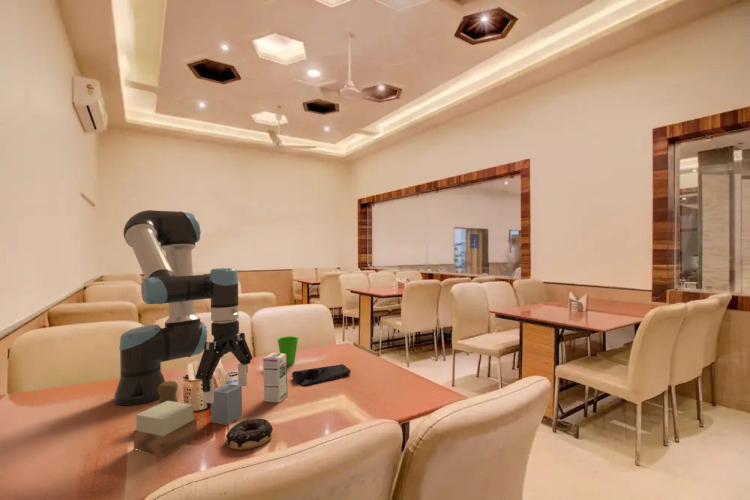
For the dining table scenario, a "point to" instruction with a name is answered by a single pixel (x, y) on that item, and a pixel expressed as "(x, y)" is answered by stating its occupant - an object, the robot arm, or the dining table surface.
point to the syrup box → (275, 377)
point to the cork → (167, 391)
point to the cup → (288, 348)
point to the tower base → (165, 439)
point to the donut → (249, 434)
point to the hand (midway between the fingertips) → (226, 393)
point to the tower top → (164, 418)
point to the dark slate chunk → (319, 374)
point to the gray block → (226, 404)
